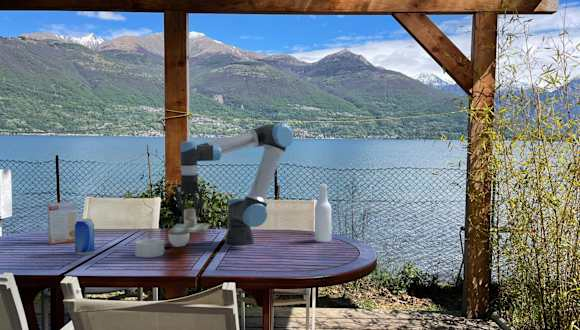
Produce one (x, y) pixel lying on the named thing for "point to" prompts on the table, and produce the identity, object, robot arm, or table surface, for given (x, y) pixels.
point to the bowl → (149, 248)
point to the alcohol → (323, 216)
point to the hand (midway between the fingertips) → (190, 223)
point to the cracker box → (62, 222)
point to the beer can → (84, 237)
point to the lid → (190, 224)
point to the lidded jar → (178, 238)
